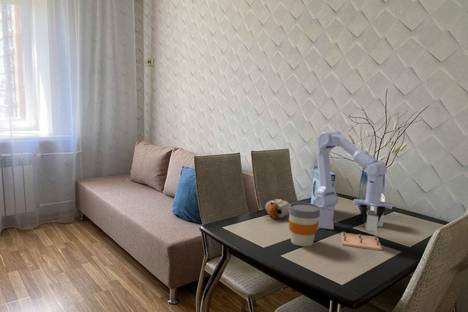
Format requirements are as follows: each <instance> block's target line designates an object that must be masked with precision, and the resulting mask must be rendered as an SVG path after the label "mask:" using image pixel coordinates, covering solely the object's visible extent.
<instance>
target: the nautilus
mask: <svg viewBox="0 0 468 312" xmlns="http://www.w3.org/2000/svg"><path fill="white" fill-rule="evenodd" d="M290 204H291V203H289V202H288V201H286V200H282V199H281V198H279V199H278V198H276V199H272V200H269V201H267V202H266V204H265V206H264V208H265V209H264V211H266V215H267V216H266V218H267V221H270V222H271V221H272V220H273V221H275V220H276V219H282V218H285V217H286V216H288V215H289V207H290Z"/></svg>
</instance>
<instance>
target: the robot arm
mask: <svg viewBox="0 0 468 312" xmlns="http://www.w3.org/2000/svg"><path fill="white" fill-rule="evenodd" d="M316 139H317V145H316V152H315V153H316V160H317V161H316V162H317V166H318V174H319V184H320V187H319V189H318V190H317V192H316V198H315V203H316V205H317V206H318V207H319V208H320V216H319V218H318V221H319V223H318V228H317V229H326V230H327V229H328V230H334V214H335V213H334V212H335V207H336V205H338V202H339V197H338V194H337V192H336V188H335V187H334V188H333V187H332V181H331V172H332V171H331V170H332V169H331V161H330V159H331V158H330V152H331V151H332V150H334V148H335V147H340V148H341V149H342V150H344V151H346V152H347V153H348V154H350V155H351V156H353V161H354V162H355V163H357V164H358V165H359V166H360V167H361V168H363V169H364V171H365V173H366V176H367V182H366V183H367V184H366V191H365V192H366V193H365V199H355V198H354V199H353V206H359V207H360V209H361V213H362V217H363V221H362V222H363V224H364V223H366V214H367V210H368V207H371V206H373V207H377V215H378V222H379V220H380V218H381V216H382V215H383V213H384V214H385V212H386V209H389V210H390V209H391V210H392V209H393V203H392V202H387V201H385V202H382V201H381V195H382V192H383V184H384V183H383V182H384V175H386V174H387V171H388V167H387V165H386V163H384V161H381V160H379V161H378V159H377V158H376V157H373V156H372V155H371V154H369V151H368V150H364V149H359V148H357V147H356V146H355V145H354V144H353V143H352V142H350V140H348V139H347V138H346V136H345V135H344V134H343V133H341V131H323V132H320V134H318V136H317V137H316ZM377 225H378V224H377Z"/></svg>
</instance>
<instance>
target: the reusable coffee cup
mask: <svg viewBox="0 0 468 312" xmlns="http://www.w3.org/2000/svg"><path fill="white" fill-rule="evenodd" d="M289 204H290V207H289V214H288V215H289V217H288V228H289V231H290V242H291V243H292V244H293V245H295V246H298V247H299V246H300V247H310V246H313V244H314V240H315V236H316V233H318V232H317V231H318V229H319V228H318V223H319V221H318V218H319V216H320V208H319V207H318V206H317V205H314V204H311V202H300V201H299V202H293V203H289Z"/></svg>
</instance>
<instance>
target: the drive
mask: <svg viewBox="0 0 468 312" xmlns="http://www.w3.org/2000/svg"><path fill="white" fill-rule="evenodd" d="M363 224H364V228H365V230H366V231H374V232H377V231H378V226H377V224H378V215H377V213H376V211H374V210H370V209H367V214H366V223H364V222H363Z"/></svg>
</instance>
